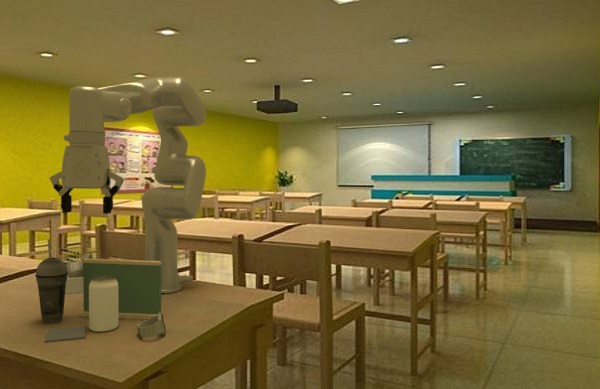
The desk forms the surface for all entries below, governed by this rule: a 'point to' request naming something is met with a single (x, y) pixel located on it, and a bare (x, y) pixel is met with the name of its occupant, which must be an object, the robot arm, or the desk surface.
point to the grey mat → (65, 333)
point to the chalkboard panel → (128, 285)
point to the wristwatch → (151, 326)
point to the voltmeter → (76, 265)
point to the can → (103, 303)
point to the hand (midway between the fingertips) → (87, 212)
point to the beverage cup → (51, 288)
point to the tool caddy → (74, 284)
